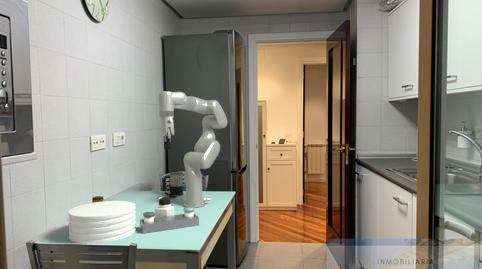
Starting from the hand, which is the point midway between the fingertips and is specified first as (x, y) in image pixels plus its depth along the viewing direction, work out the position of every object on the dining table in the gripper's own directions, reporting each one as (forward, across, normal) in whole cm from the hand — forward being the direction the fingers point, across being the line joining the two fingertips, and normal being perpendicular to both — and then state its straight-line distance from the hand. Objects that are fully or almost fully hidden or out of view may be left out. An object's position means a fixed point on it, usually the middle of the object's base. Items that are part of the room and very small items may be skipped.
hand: (167, 149), depth 185 cm
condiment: (+35, +6, +34) cm, 49 cm away
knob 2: (+34, -22, -4) cm, 41 cm away
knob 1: (+34, -22, +14) cm, 44 cm away
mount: (+35, -22, +5) cm, 42 cm away
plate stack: (+36, -17, +34) cm, 52 cm away
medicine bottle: (+35, -12, +5) cm, 38 cm away
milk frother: (+35, +44, -14) cm, 58 cm away
